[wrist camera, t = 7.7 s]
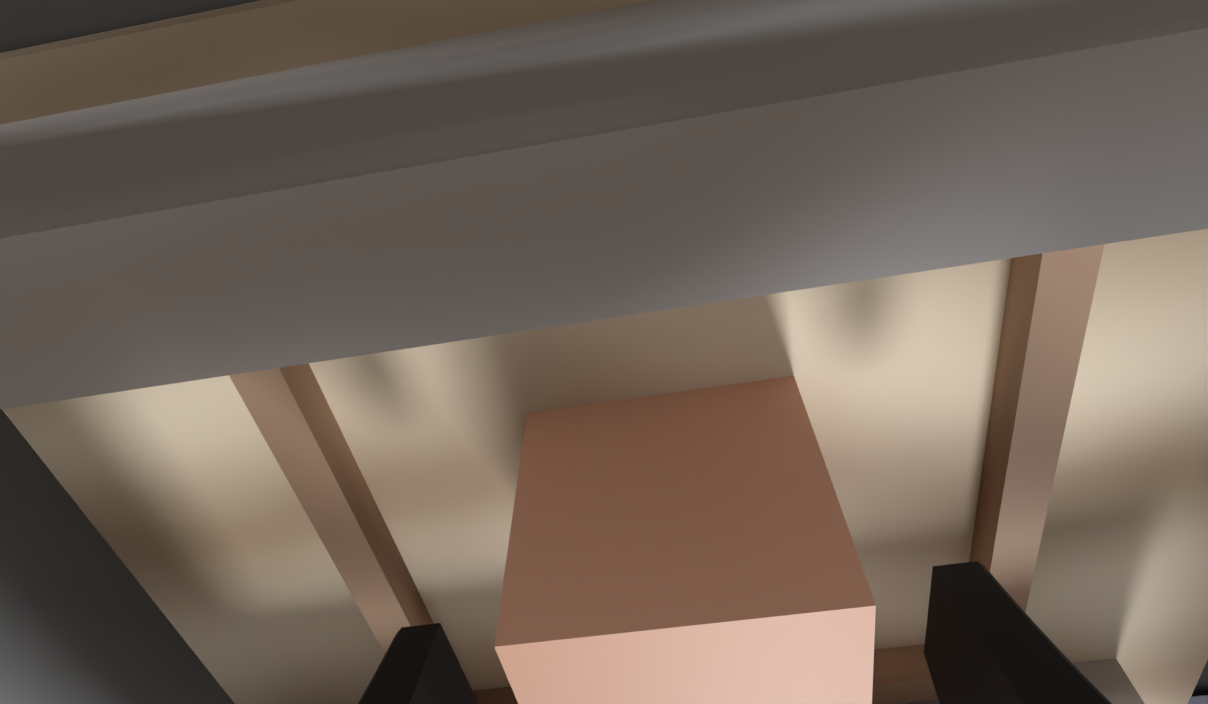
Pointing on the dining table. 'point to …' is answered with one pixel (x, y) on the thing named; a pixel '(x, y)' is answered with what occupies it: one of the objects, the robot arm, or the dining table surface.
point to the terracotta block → (683, 557)
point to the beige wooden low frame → (615, 300)
